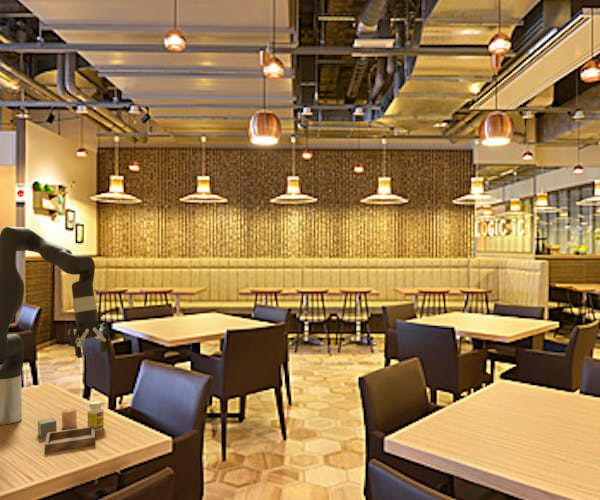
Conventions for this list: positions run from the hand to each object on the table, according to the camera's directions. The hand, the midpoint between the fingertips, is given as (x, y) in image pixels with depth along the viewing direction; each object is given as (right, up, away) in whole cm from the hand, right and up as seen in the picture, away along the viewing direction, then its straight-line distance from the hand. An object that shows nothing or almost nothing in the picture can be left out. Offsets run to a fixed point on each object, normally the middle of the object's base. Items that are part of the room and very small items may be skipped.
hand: (91, 355), depth 179 cm
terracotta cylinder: (-11, -28, +8) cm, 31 cm away
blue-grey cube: (-16, -28, 0) cm, 33 cm away
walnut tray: (-4, -28, -9) cm, 30 cm away
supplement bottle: (0, -28, +5) cm, 29 cm away
